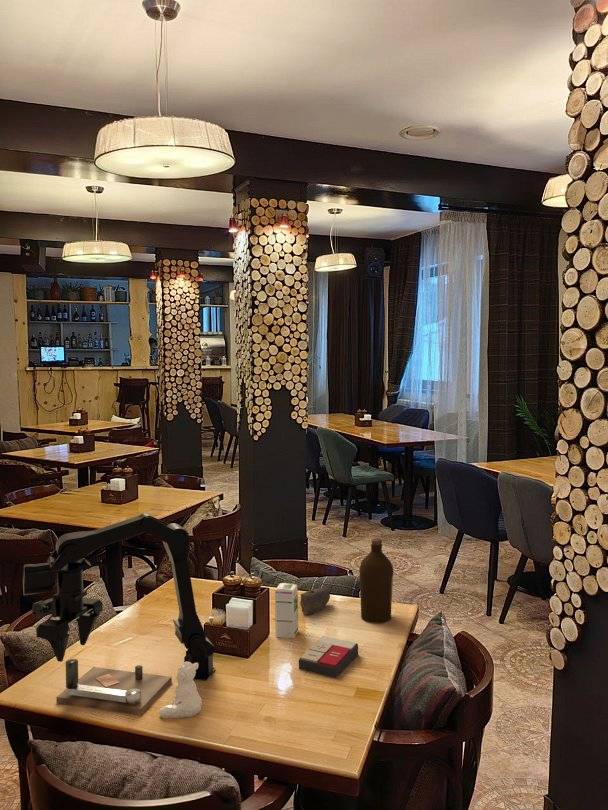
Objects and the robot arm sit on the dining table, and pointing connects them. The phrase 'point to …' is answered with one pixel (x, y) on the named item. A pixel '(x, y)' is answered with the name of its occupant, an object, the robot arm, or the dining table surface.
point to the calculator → (329, 656)
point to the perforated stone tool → (314, 600)
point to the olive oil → (376, 585)
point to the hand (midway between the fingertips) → (71, 652)
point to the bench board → (120, 681)
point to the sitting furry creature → (184, 695)
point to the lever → (97, 688)
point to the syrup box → (286, 610)
